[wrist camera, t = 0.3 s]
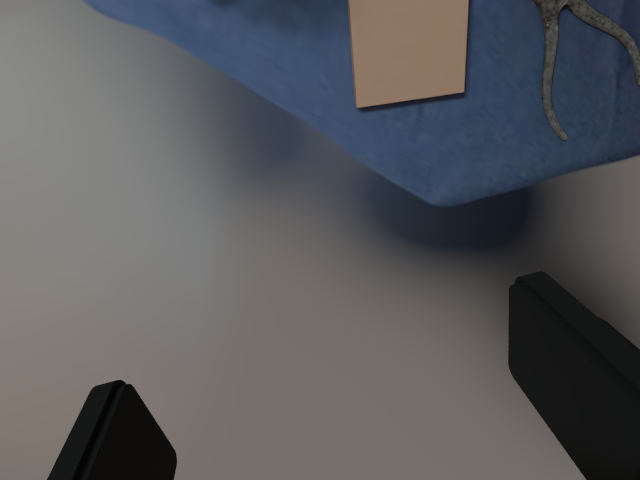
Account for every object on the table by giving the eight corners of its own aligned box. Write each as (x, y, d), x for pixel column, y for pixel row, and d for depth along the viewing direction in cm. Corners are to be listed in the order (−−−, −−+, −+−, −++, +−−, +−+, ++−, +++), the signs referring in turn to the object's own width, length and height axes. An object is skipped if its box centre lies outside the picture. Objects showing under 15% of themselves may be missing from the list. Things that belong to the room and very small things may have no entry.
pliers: (573, 152, 41) (450, 6, 33) (568, 150, 42) (446, 7, 34) (657, 73, 38) (543, -106, 30) (649, 73, 39) (536, -102, 31)
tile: (345, -23, 32) (347, -24, 31) (466, -39, 32) (470, -40, 32) (355, 106, 36) (356, 108, 36) (460, 91, 37) (464, 92, 36)
